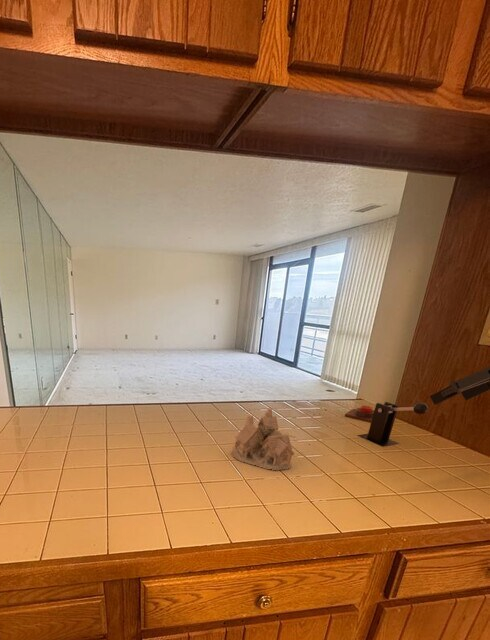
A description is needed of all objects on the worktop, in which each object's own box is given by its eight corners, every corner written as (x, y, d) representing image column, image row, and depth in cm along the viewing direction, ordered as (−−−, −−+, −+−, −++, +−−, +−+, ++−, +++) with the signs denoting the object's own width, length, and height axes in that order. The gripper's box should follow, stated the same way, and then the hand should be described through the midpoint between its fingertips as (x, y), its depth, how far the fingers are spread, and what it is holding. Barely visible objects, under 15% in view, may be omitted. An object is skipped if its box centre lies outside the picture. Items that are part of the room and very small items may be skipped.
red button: (372, 411, 140) (373, 407, 139) (369, 413, 137) (370, 409, 136) (361, 409, 142) (362, 405, 142) (358, 411, 139) (359, 407, 139)
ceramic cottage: (227, 447, 112) (234, 404, 105) (275, 448, 114) (285, 406, 107) (241, 474, 98) (251, 426, 92) (296, 474, 100) (309, 427, 93)
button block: (383, 420, 141) (385, 411, 139) (376, 426, 134) (379, 417, 132) (351, 413, 148) (353, 404, 147) (344, 418, 141) (346, 409, 140)
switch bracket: (398, 446, 117) (410, 407, 112) (381, 449, 114) (393, 410, 109) (372, 435, 126) (382, 399, 120) (356, 438, 123) (365, 401, 117)
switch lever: (431, 413, 104) (430, 401, 104) (423, 414, 103) (422, 402, 102) (386, 414, 117) (385, 403, 117) (378, 415, 116) (378, 404, 116)
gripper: (560, 338, 85) (469, 383, 103) (499, 341, 76) (412, 390, 95) (579, 364, 82) (483, 405, 101) (519, 370, 74) (426, 414, 92)
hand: (448, 398), depth 98 cm, fingers open, 13 cm apart
